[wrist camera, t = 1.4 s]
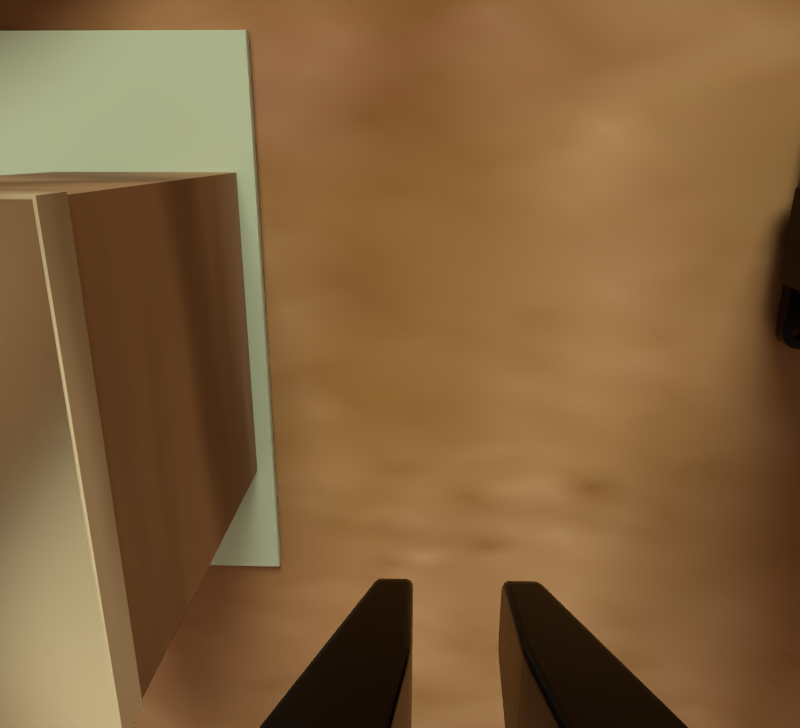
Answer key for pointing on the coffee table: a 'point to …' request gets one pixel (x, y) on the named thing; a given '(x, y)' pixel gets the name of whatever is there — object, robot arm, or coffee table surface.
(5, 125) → the mat
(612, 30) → the coffee table surface
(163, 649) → the walnut block
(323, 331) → the coffee table surface
